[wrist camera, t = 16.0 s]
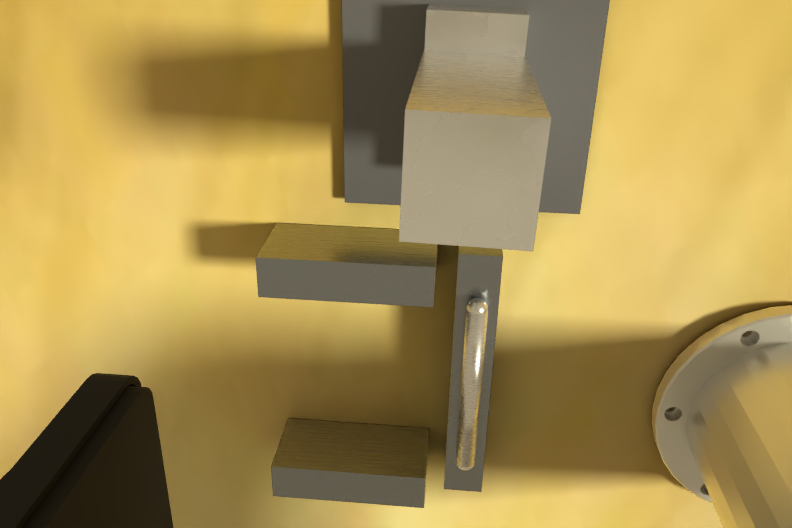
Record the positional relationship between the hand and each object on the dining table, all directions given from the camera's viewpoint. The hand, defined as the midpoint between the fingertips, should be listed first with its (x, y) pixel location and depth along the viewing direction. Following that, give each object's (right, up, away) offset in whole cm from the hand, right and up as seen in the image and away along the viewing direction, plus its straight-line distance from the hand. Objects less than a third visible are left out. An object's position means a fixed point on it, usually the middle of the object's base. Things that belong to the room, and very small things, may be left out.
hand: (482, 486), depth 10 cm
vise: (-2, -2, +28) cm, 29 cm away
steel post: (+2, +11, +22) cm, 24 cm away
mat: (+2, +11, +22) cm, 25 cm away
